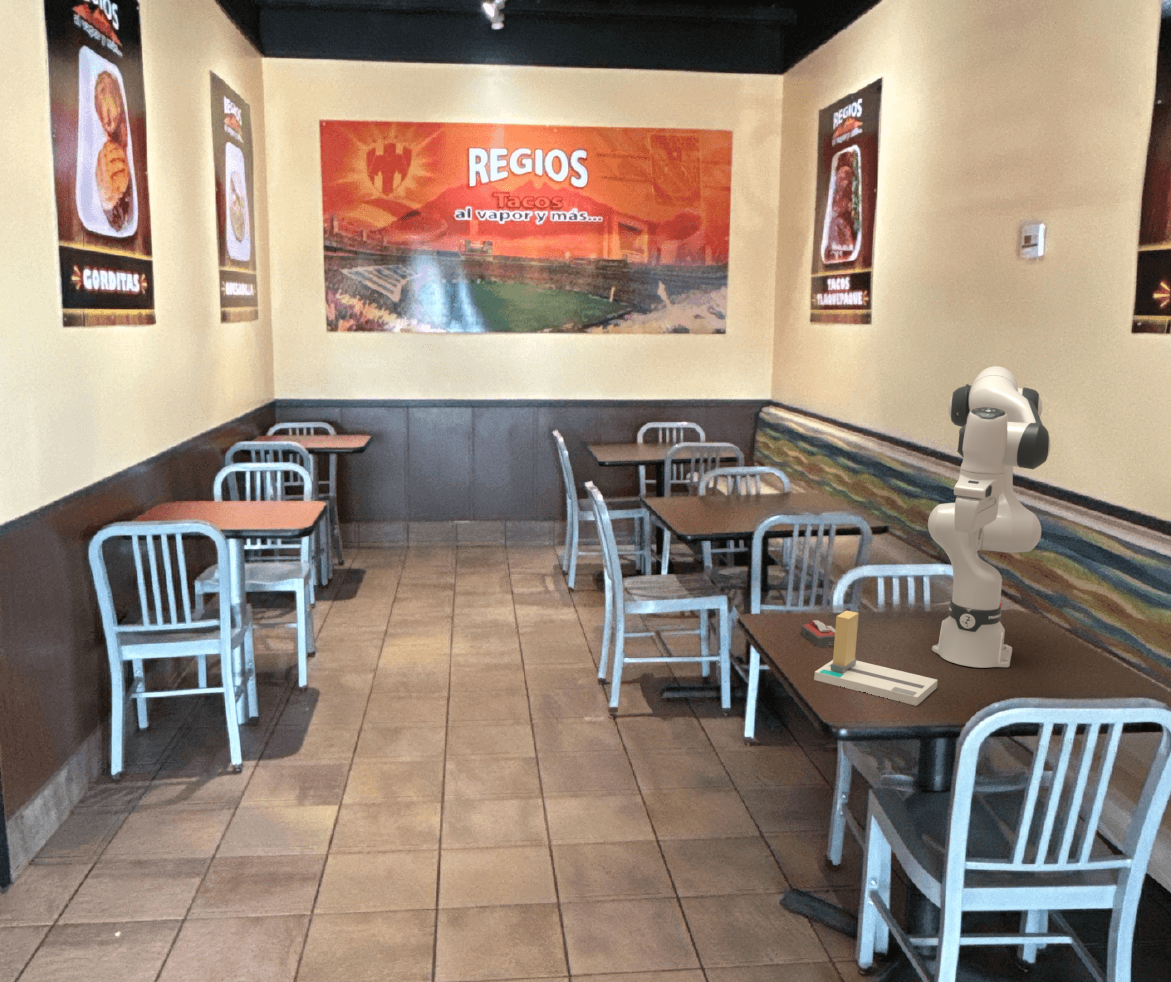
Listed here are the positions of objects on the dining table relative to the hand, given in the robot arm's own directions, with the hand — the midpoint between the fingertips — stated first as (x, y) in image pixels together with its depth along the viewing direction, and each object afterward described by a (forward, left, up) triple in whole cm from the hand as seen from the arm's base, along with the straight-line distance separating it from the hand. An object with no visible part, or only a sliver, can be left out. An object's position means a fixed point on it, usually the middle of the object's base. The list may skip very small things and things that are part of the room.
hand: (974, 546), depth 226 cm
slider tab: (+3, -26, -33) cm, 42 cm away
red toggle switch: (-21, -42, -36) cm, 60 cm away
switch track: (+3, -18, -35) cm, 40 cm away
